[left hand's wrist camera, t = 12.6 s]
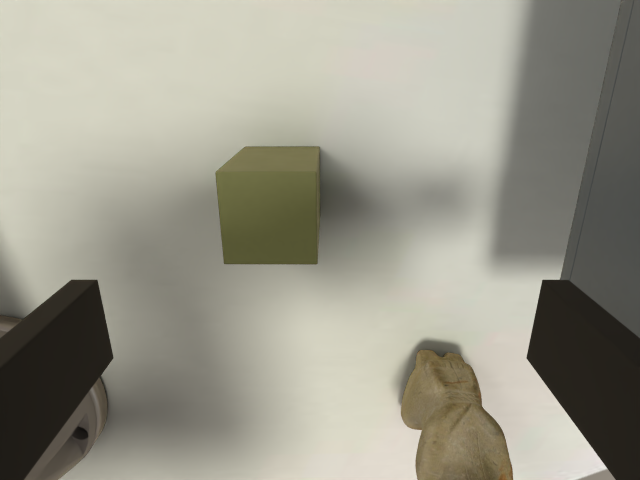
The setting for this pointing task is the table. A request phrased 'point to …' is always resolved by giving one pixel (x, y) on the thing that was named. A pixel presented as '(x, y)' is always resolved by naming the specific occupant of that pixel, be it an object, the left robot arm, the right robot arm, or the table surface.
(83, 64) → the table surface
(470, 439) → the sculpture
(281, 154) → the olive block
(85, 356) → the left robot arm
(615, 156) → the grey box
